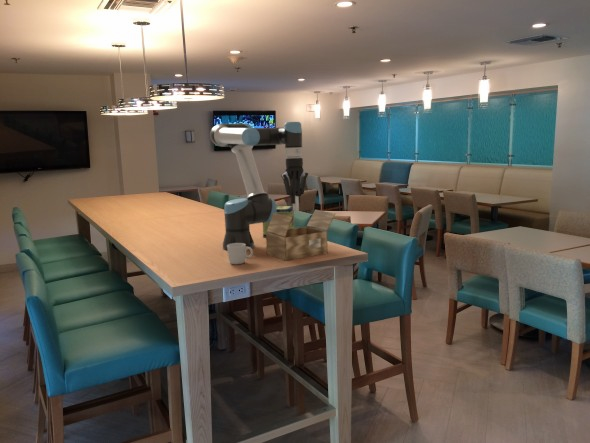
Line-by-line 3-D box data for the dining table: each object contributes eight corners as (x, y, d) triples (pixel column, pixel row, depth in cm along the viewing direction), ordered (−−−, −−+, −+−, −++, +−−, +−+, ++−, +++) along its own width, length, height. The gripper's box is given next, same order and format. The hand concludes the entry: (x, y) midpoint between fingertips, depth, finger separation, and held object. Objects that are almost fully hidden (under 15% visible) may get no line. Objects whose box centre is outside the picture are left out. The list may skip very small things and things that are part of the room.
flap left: (284, 236, 203) (291, 217, 204) (266, 230, 217) (273, 212, 218) (285, 236, 204) (292, 217, 204) (267, 231, 217) (274, 213, 218)
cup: (253, 260, 207) (252, 242, 206) (252, 264, 200) (251, 246, 198) (228, 261, 207) (227, 243, 206) (226, 265, 199) (225, 247, 198)
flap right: (326, 230, 214) (335, 213, 215) (306, 225, 228) (315, 209, 229) (326, 230, 214) (335, 213, 216) (307, 225, 228) (315, 209, 230)
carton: (285, 261, 204) (285, 238, 202) (266, 253, 220) (265, 231, 218) (328, 253, 215) (327, 231, 214) (306, 246, 231) (306, 226, 229)
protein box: (291, 237, 253) (290, 208, 251) (262, 237, 257) (261, 208, 254) (295, 234, 264) (294, 206, 261) (267, 233, 267) (266, 206, 264)
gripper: (285, 158, 204) (287, 213, 207) (311, 157, 210) (312, 210, 214) (277, 158, 210) (279, 211, 214) (302, 156, 217) (303, 208, 220)
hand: (296, 210), depth 214 cm, fingers closed
